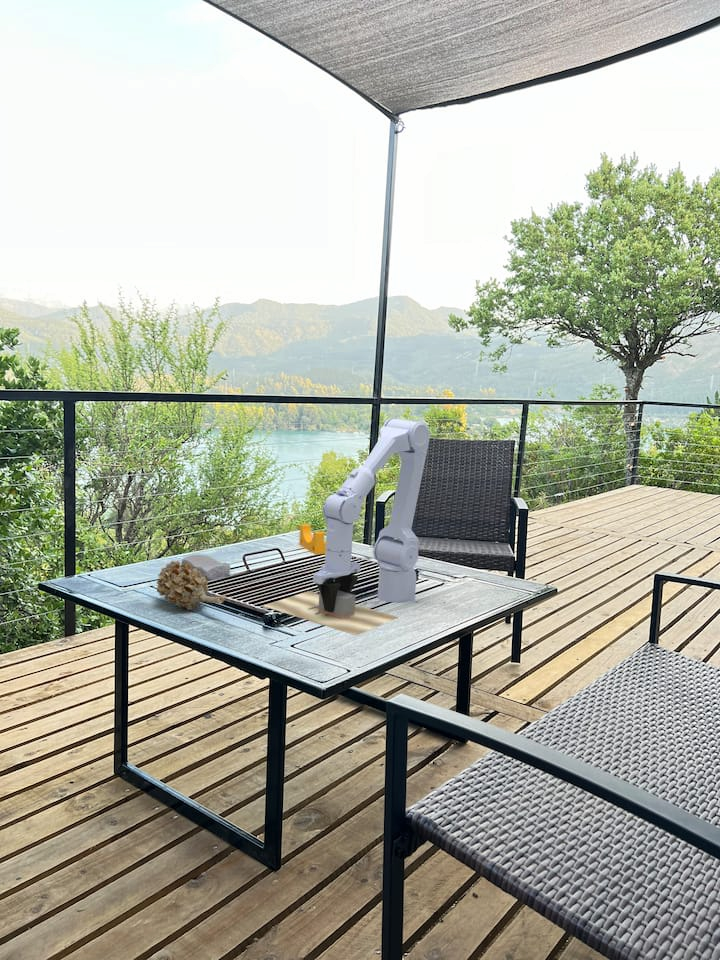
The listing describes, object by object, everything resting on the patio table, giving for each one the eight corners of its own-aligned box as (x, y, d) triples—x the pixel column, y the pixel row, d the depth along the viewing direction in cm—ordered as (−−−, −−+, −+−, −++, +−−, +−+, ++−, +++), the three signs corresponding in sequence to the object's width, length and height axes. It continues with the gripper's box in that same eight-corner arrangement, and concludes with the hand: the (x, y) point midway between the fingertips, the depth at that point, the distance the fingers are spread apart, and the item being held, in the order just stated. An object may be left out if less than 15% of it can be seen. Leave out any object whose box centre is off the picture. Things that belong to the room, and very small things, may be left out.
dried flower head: (143, 603, 177) (143, 561, 175) (175, 594, 185) (176, 553, 183) (213, 627, 165) (215, 581, 163) (245, 616, 173) (246, 572, 171)
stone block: (207, 571, 212) (176, 570, 204) (211, 554, 212) (180, 552, 204) (234, 584, 204) (202, 583, 196) (238, 566, 204) (206, 564, 196)
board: (308, 597, 189) (308, 590, 189) (398, 623, 174) (398, 616, 174) (262, 612, 176) (262, 605, 176) (355, 642, 161) (356, 635, 161)
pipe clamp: (328, 554, 231) (329, 532, 230) (315, 554, 229) (316, 533, 228) (312, 544, 242) (313, 523, 241) (299, 545, 240) (300, 524, 239)
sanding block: (329, 607, 177) (330, 588, 177) (354, 614, 173) (355, 595, 173) (318, 611, 174) (319, 591, 174) (343, 618, 170) (344, 599, 170)
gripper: (344, 540, 180) (340, 597, 182) (303, 551, 168) (300, 611, 170) (369, 546, 176) (365, 604, 178) (329, 557, 164) (325, 619, 166)
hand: (335, 608), depth 174 cm, fingers closed on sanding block, 4 cm apart
